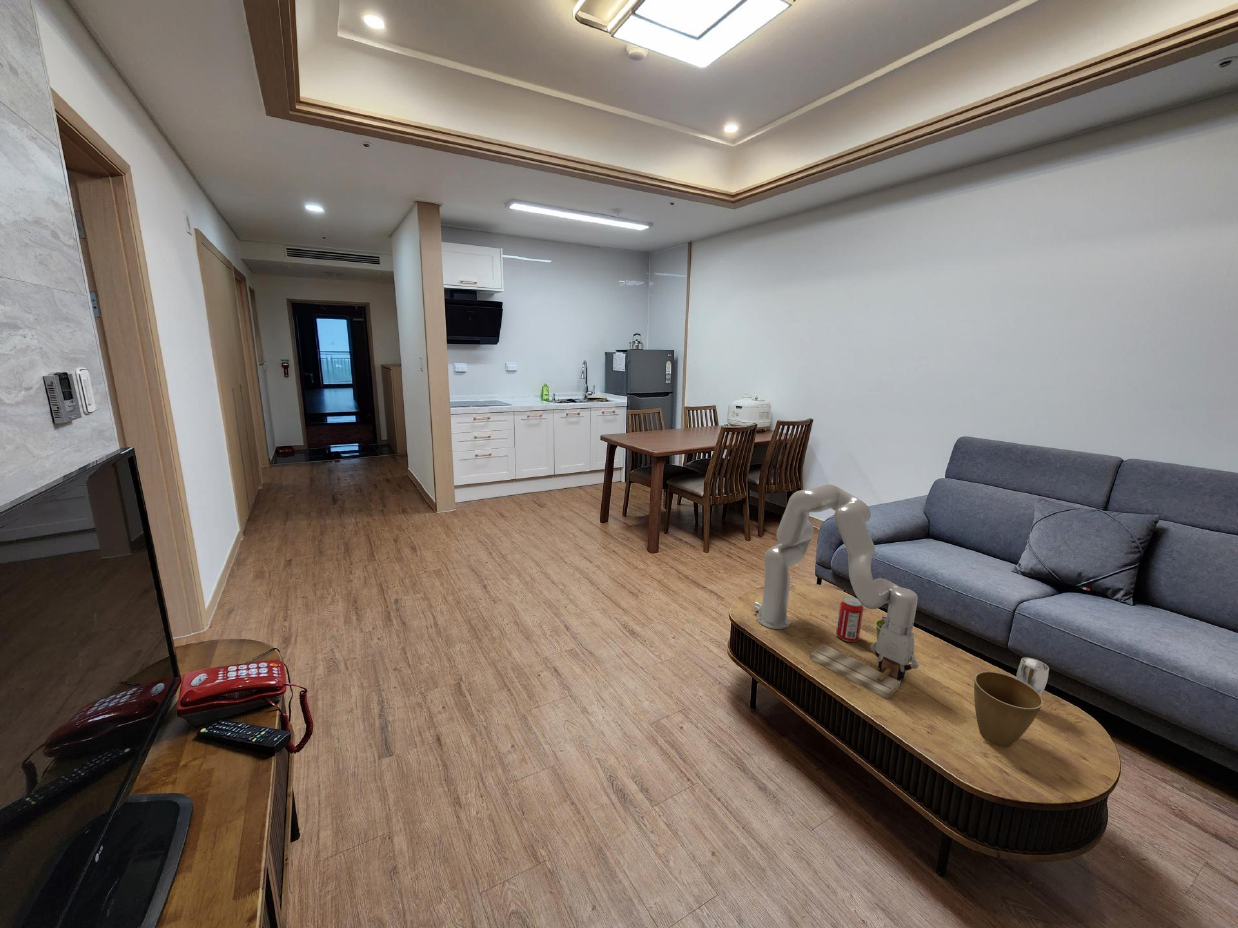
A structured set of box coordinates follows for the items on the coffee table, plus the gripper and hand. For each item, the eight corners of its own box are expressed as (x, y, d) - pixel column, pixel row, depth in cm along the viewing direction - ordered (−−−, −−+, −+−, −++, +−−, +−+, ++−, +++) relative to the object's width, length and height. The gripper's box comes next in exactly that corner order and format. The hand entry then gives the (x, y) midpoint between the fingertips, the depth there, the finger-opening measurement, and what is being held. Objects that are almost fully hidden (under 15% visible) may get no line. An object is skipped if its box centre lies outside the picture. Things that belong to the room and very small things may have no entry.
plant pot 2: (952, 727, 143) (962, 678, 139) (984, 712, 149) (995, 666, 145) (1009, 766, 130) (1022, 714, 126) (1042, 749, 136) (1055, 698, 132)
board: (809, 658, 173) (810, 653, 172) (822, 649, 179) (823, 643, 178) (887, 699, 154) (888, 693, 153) (899, 686, 159) (900, 681, 159)
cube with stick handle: (870, 684, 160) (872, 668, 159) (884, 670, 167) (887, 655, 166) (886, 692, 157) (889, 675, 155) (900, 678, 163) (903, 662, 162)
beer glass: (1004, 702, 154) (1014, 659, 150) (1019, 697, 156) (1029, 655, 153) (1029, 717, 147) (1040, 673, 144) (1044, 712, 150) (1055, 668, 146)
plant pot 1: (906, 652, 178) (910, 630, 176) (887, 657, 175) (891, 635, 173) (884, 637, 187) (888, 617, 185) (865, 642, 183) (869, 621, 181)
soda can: (847, 645, 181) (853, 608, 178) (831, 633, 188) (836, 597, 185) (863, 641, 184) (869, 604, 181) (846, 629, 191) (852, 594, 188)
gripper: (866, 618, 164) (859, 667, 168) (923, 642, 151) (913, 694, 155) (876, 611, 168) (869, 658, 173) (932, 633, 156) (922, 684, 160)
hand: (890, 674), depth 164 cm, fingers closed on cube with stick handle, 5 cm apart
